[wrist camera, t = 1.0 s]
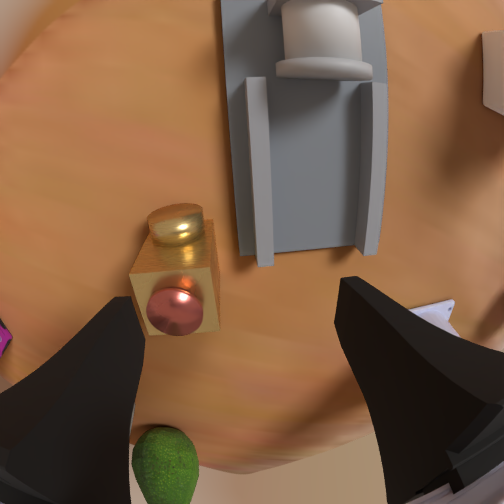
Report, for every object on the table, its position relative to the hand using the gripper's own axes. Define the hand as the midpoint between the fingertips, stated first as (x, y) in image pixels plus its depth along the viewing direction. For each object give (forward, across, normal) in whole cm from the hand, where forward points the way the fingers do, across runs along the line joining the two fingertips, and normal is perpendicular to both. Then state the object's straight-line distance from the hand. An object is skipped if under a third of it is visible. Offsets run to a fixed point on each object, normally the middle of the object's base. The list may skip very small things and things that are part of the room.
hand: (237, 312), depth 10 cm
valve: (+10, +3, +2) cm, 11 cm away
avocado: (+10, +10, +27) cm, 30 cm away
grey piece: (+10, -5, -6) cm, 13 cm away
